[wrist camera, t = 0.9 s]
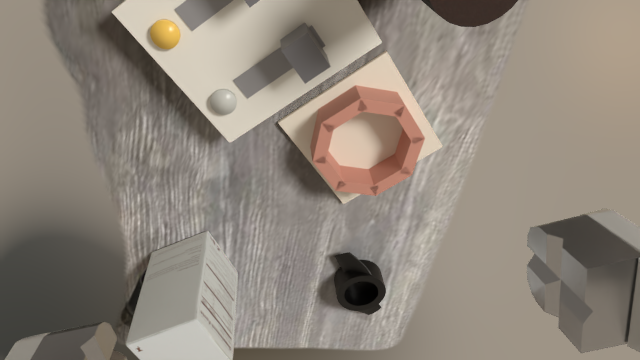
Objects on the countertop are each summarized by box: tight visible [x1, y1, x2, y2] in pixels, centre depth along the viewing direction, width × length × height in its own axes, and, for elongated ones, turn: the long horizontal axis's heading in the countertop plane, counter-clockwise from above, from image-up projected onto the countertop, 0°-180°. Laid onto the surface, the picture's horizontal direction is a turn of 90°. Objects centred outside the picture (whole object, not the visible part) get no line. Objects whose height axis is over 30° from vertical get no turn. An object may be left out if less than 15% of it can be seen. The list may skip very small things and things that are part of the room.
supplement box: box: [126, 231, 238, 360], centre depth 49 cm, size 7×7×13 cm
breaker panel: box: [112, 0, 382, 143], centre depth 39 cm, size 16×14×4 cm
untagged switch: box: [280, 23, 331, 84], centre depth 37 cm, size 2×3×3 cm
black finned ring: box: [334, 253, 386, 315], centre depth 57 cm, size 8×10×3 cm
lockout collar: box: [278, 51, 443, 204], centre depth 46 cm, size 12×12×3 cm
